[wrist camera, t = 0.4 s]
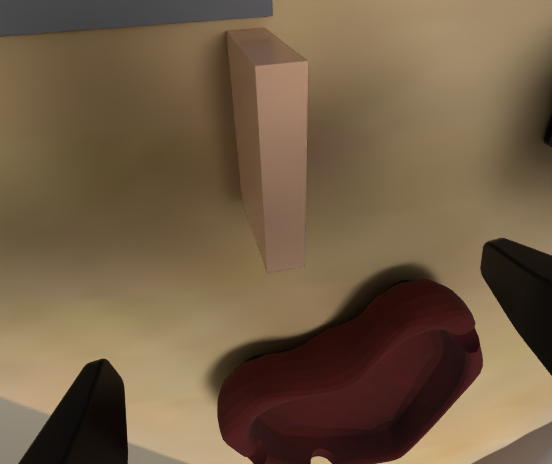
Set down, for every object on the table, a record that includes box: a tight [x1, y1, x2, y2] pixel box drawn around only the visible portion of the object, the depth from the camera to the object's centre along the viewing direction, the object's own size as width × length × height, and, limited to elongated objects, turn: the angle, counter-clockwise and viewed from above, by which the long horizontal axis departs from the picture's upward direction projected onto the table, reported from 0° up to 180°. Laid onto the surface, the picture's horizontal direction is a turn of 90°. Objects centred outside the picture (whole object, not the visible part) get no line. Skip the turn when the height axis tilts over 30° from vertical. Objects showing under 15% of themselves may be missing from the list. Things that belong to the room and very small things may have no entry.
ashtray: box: [217, 279, 483, 464], centre depth 30 cm, size 18×16×5 cm
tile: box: [226, 28, 308, 274], centre depth 17 cm, size 2×8×6 cm, turn 2°
